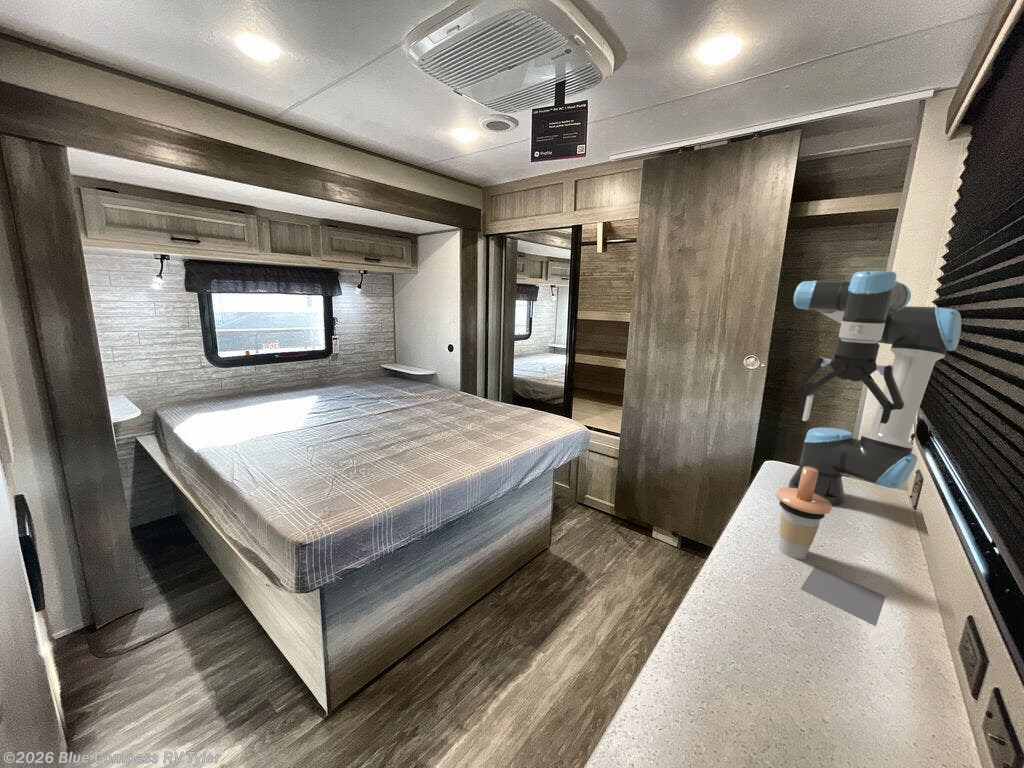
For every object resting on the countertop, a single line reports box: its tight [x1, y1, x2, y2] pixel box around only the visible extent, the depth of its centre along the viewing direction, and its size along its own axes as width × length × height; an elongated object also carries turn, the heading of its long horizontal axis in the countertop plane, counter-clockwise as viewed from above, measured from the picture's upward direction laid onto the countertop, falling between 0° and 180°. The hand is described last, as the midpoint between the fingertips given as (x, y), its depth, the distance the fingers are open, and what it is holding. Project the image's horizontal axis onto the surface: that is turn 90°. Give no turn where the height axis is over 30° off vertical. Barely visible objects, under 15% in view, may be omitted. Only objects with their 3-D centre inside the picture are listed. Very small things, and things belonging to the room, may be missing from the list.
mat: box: [800, 565, 886, 627], centre depth 90 cm, size 13×13×1 cm
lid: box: [776, 466, 833, 515], centre depth 100 cm, size 11×11×9 cm
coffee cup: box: [778, 500, 826, 560], centre depth 103 cm, size 9×9×15 cm
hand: (838, 427), depth 97 cm, fingers open, 13 cm apart
